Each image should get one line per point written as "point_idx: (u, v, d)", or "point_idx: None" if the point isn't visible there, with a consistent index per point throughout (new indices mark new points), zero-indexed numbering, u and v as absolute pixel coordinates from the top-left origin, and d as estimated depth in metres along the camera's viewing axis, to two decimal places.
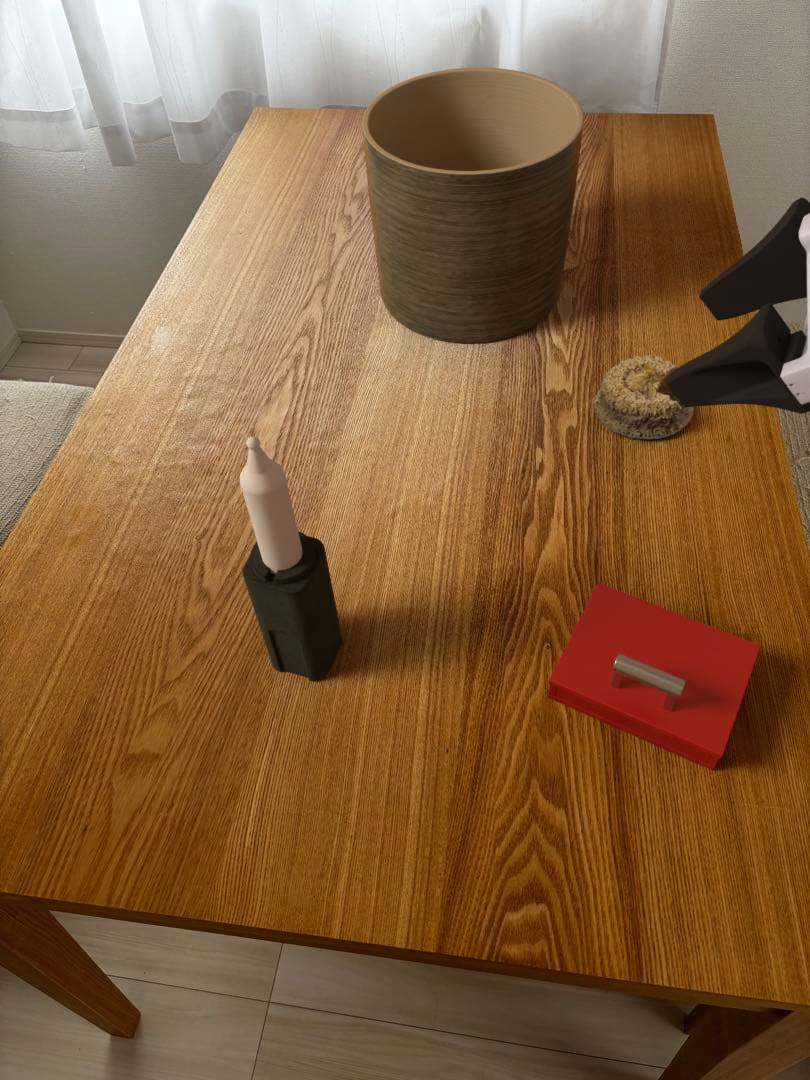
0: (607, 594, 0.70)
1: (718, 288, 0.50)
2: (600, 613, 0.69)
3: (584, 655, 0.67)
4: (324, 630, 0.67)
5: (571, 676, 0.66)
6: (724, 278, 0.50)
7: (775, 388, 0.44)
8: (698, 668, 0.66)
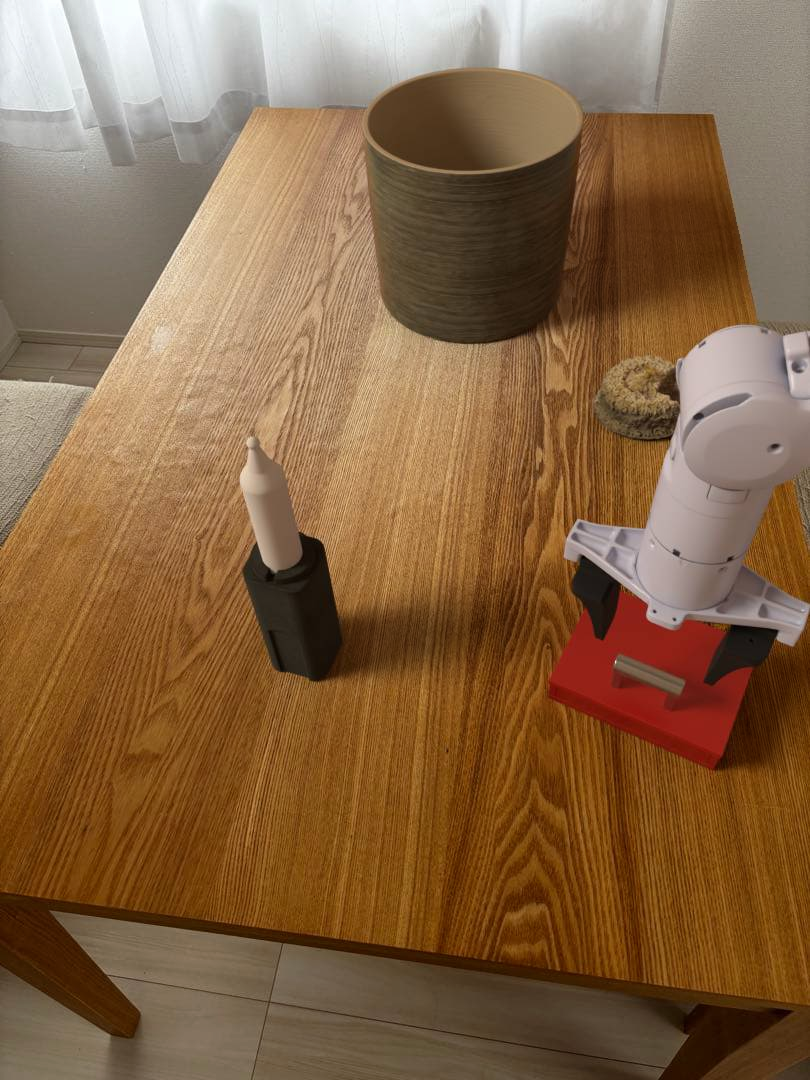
0: None
1: (605, 630, 0.59)
2: None
3: (584, 655, 0.67)
4: (324, 630, 0.67)
5: (571, 676, 0.66)
6: (604, 629, 0.58)
7: None
8: (698, 668, 0.66)
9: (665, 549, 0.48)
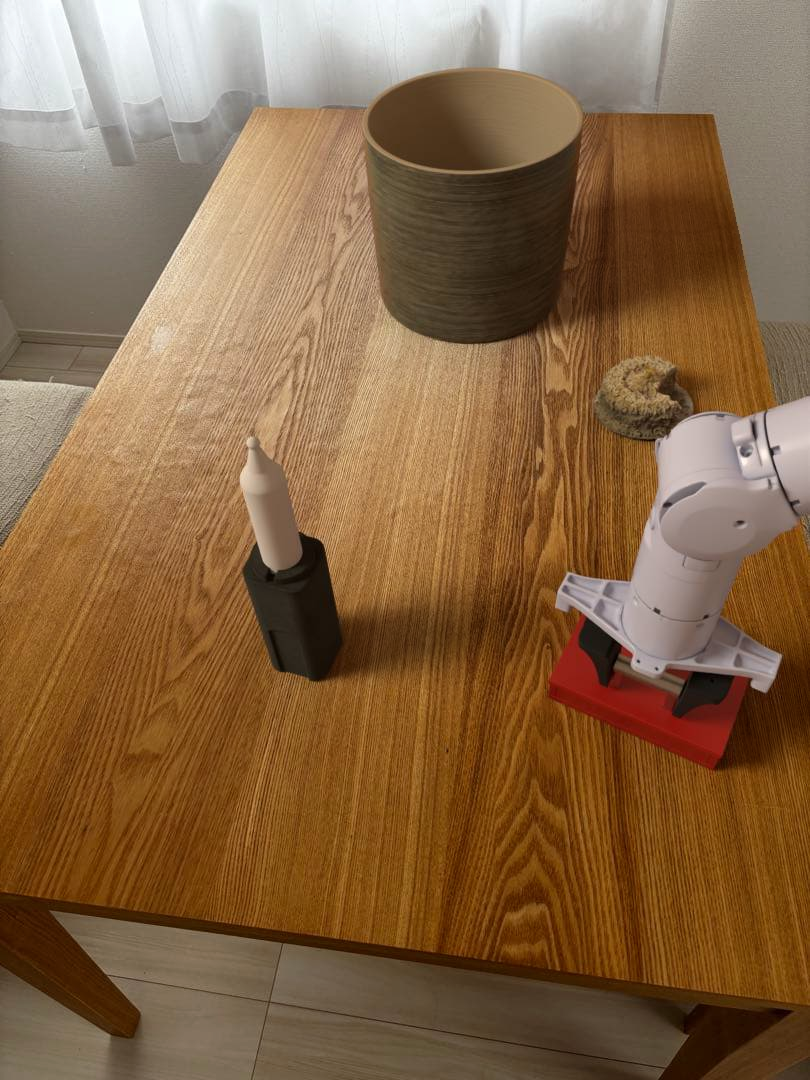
0: None
1: (609, 678, 0.63)
2: None
3: (584, 655, 0.67)
4: (324, 630, 0.67)
5: (571, 676, 0.66)
6: (608, 678, 0.63)
7: None
8: None
9: (647, 607, 0.52)
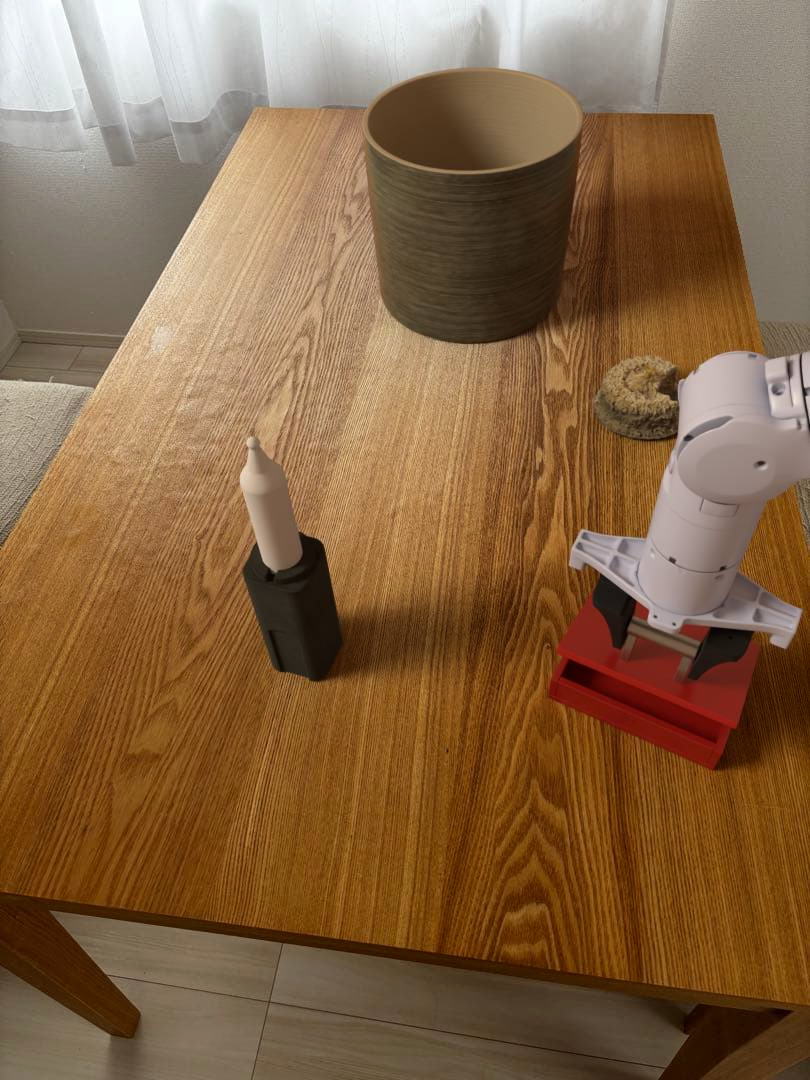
0: None
1: (623, 640, 0.62)
2: None
3: (591, 633, 0.65)
4: (324, 630, 0.67)
5: (579, 646, 0.63)
6: (621, 639, 0.61)
7: None
8: None
9: (665, 558, 0.51)
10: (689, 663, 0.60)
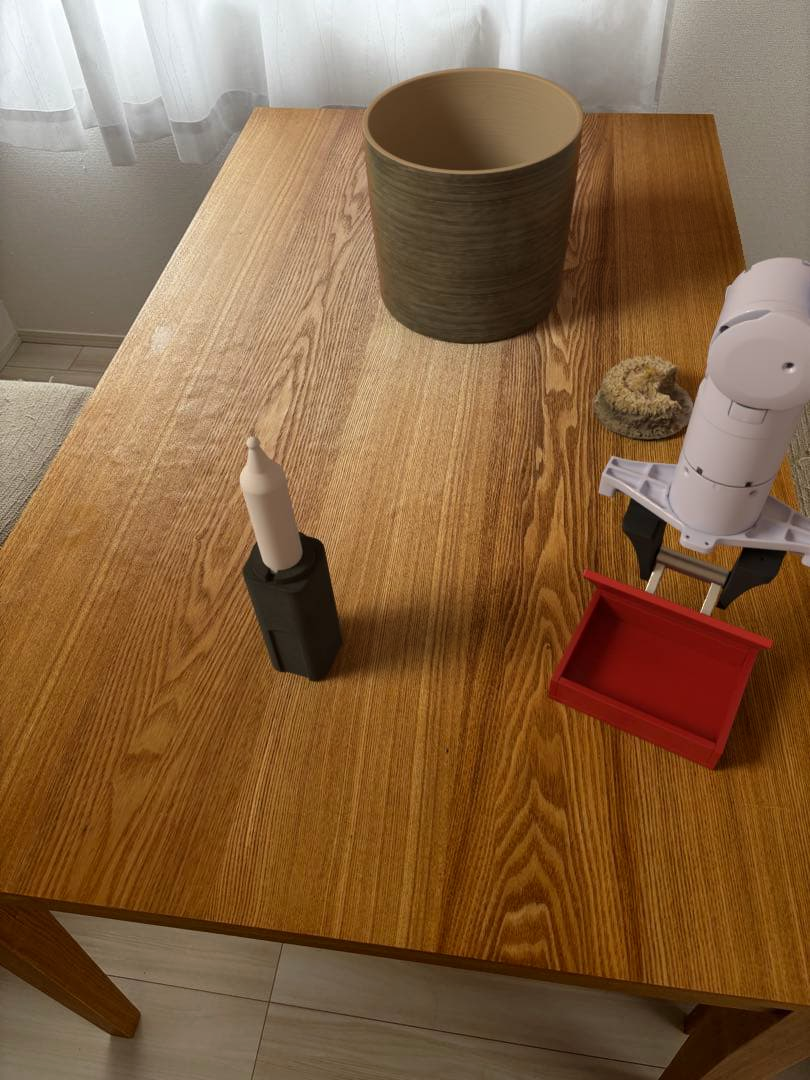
0: None
1: (651, 570, 0.62)
2: None
3: None
4: (324, 630, 0.67)
5: None
6: (650, 569, 0.61)
7: None
8: None
9: (699, 475, 0.51)
10: (718, 591, 0.60)
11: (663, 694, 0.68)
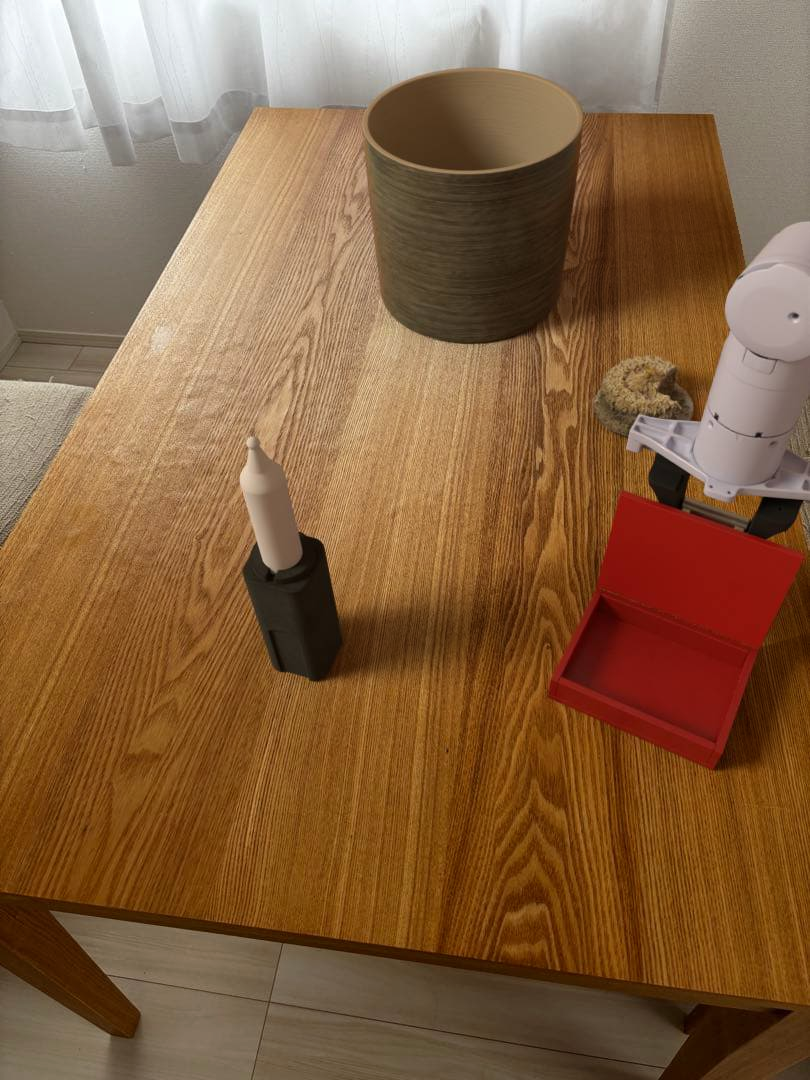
0: None
1: None
2: None
3: None
4: (324, 630, 0.67)
5: None
6: None
7: None
8: None
9: (723, 426, 0.55)
10: (742, 531, 0.64)
11: (663, 694, 0.68)
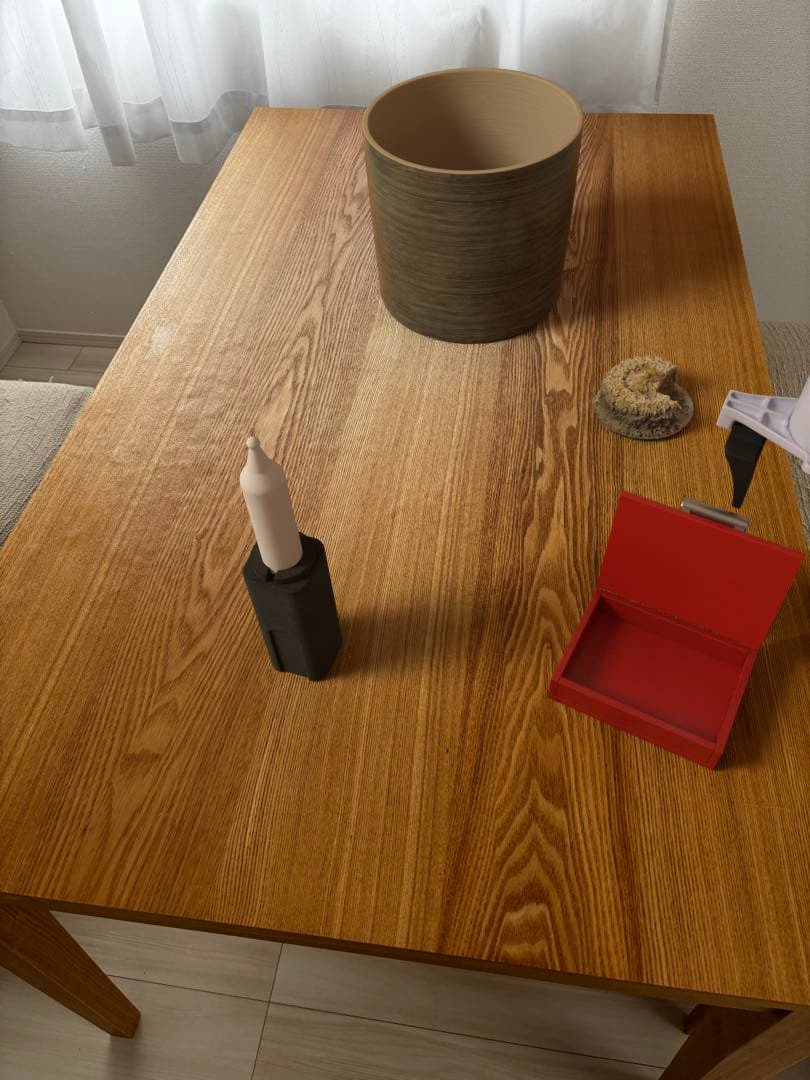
0: None
1: (744, 497, 0.65)
2: None
3: None
4: (324, 630, 0.67)
5: None
6: (744, 495, 0.65)
7: None
8: None
9: None
10: (742, 531, 0.64)
11: (663, 694, 0.68)
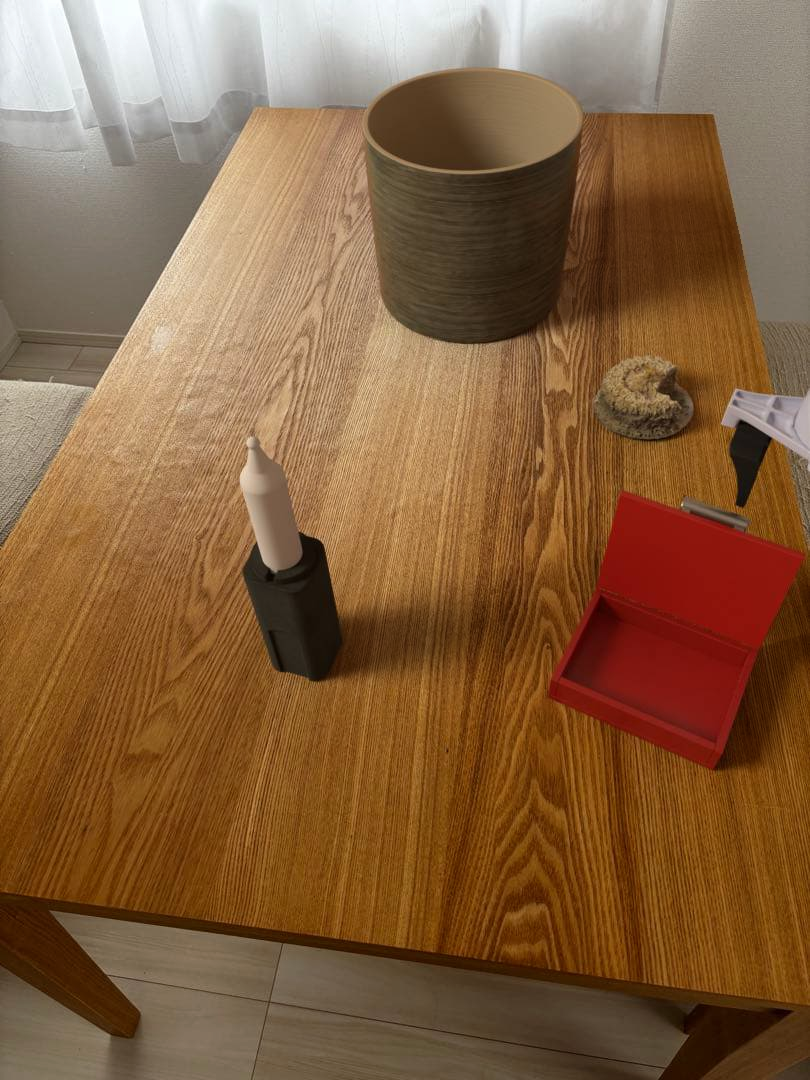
0: None
1: None
2: None
3: None
4: (324, 630, 0.67)
5: None
6: (748, 495, 0.64)
7: None
8: None
9: None
10: (742, 531, 0.64)
11: (663, 694, 0.68)
